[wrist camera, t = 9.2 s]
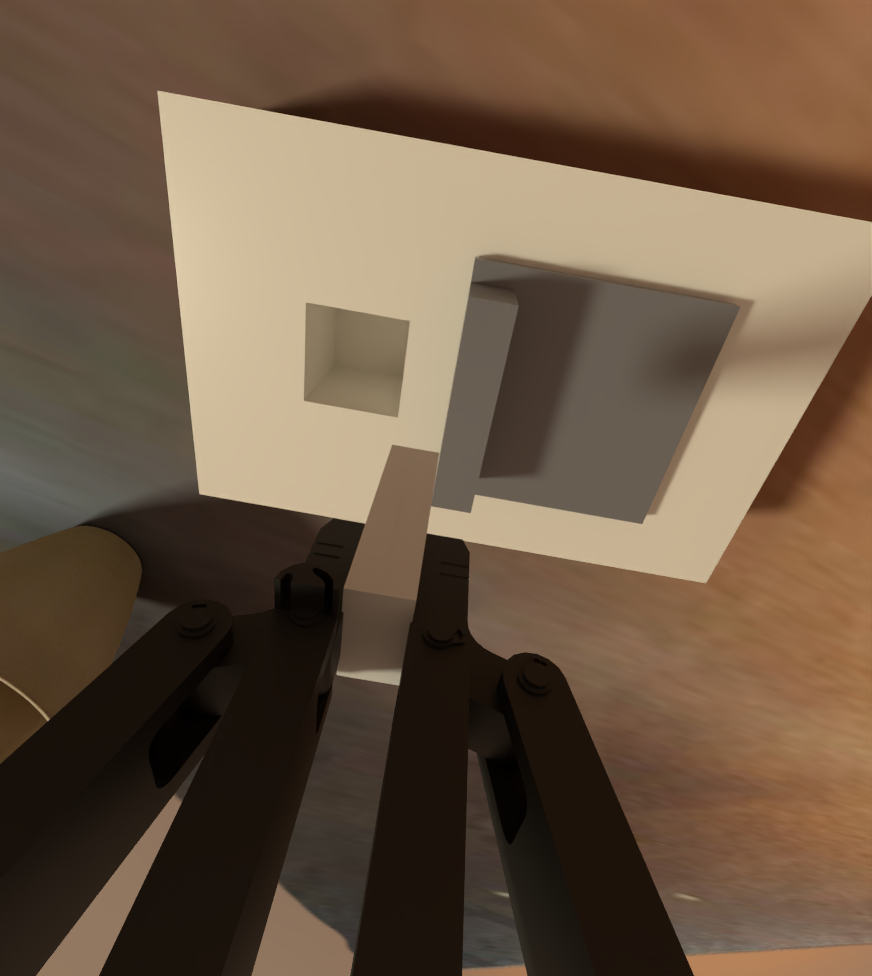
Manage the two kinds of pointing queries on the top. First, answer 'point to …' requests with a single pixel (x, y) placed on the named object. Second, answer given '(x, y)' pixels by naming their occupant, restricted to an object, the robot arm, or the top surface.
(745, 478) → the socket block
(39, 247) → the top surface
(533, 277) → the shutter
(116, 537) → the plant pot
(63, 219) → the top surface
